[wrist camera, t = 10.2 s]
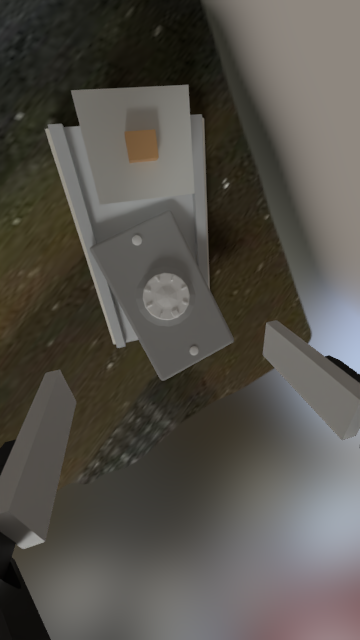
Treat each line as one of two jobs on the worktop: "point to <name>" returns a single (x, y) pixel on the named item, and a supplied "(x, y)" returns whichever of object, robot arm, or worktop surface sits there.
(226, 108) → the worktop surface
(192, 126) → the rail board
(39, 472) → the robot arm
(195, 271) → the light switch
